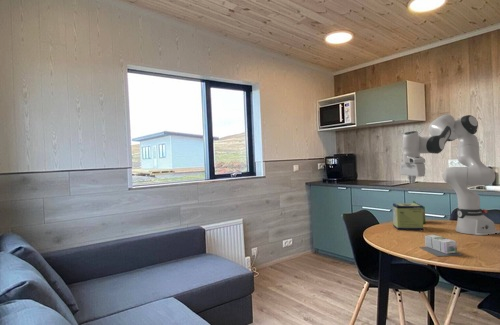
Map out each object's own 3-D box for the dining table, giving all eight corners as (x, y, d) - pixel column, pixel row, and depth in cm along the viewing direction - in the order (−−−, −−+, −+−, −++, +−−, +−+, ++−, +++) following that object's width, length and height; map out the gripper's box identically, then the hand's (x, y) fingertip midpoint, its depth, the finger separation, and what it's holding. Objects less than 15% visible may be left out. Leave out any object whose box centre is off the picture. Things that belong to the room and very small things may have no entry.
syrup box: (425, 246, 164) (446, 254, 150) (424, 235, 164) (446, 242, 150) (434, 245, 165) (457, 253, 151) (434, 233, 165) (456, 241, 151)
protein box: (423, 230, 198) (423, 205, 198) (397, 230, 201) (396, 205, 201) (418, 226, 209) (417, 203, 208) (392, 226, 211) (392, 203, 211)
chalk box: (425, 223, 216) (425, 202, 216) (411, 223, 218) (410, 202, 218) (421, 220, 225) (420, 200, 225) (407, 220, 227) (406, 200, 227)
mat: (441, 246, 164) (441, 245, 164) (462, 255, 149) (462, 254, 149) (419, 247, 163) (419, 246, 163) (438, 256, 148) (437, 256, 148)
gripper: (396, 159, 192) (397, 182, 192) (415, 159, 172) (416, 185, 172) (406, 159, 192) (407, 182, 193) (427, 159, 172) (428, 184, 172)
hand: (412, 183), depth 182 cm, fingers closed
